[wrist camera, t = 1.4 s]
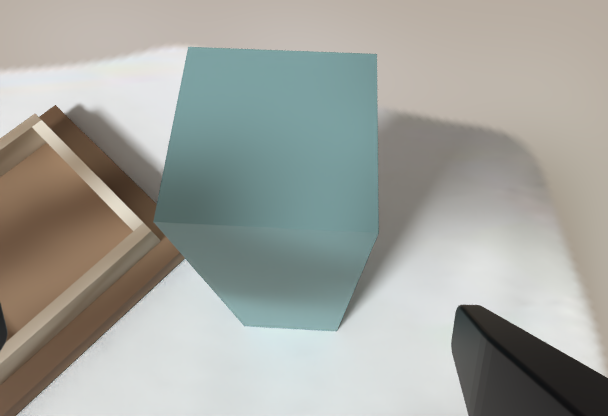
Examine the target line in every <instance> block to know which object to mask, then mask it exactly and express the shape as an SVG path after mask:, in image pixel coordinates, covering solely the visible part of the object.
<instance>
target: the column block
mask: <svg viewBox="0 0 608 416" xmlns="http://www.w3.org/2000/svg"><path fill="white" fill-rule="evenodd" d="M153 222H154V223H155V224H156V226H157V227H158V228H159V229H160V230H161V231H162V232H163V234H164V235H165V236H166V237H167V238H168V239H169V240H170V242H171V243H172V244H173V245H174V246H175V247H176V248H177V250H178V251H179V252H180V253H181V254H182V255H183V256H184V258H185V259H186V260H187V261H188V262H189V263H190V264H191V266H192V267H193V268H194V269H195V270H196V271H197V272H198V274H199V275H200V276H201V277H202V278H203V279H204V280H205V282H206V283H207V284H208V285H209V286H210V287H211V288H212V290H213V291H214V292H215V293H216V294H217V295H218V296H219V298H220V299H221V300H222V301H223V302H224V303H225V304H226V306H227V307H228V308H229V309H230V310H231V311H232V312H233V314H234V315H235V316H236V317H237V318H238V319H239V320H240V322H241V323H242V324H243V325H244V326H252V327H270V328H288V329H305V330H323V331H337V330H338V327H339V325H340V323H341V320H342V318H343V316H344V313H345V311H346V308H347V306H348V304H349V301H350V299H351V297H352V294H353V292H354V290H355V287H356V285H357V283H358V280H359V278H360V276H361V273H362V271H363V269H364V266H365V264H366V262H367V259H368V257H369V255H370V252H371V250H372V247H373V245H374V243H375V240H376V238H377V236H378V233H379V217H378V118H377V54H362V53H361V54H360V53H336V52H309V51H283V50H255V49H230V48H203V47H188V51H187V56H186V61H185V66H184V71H183V76H182V81H181V86H180V91H179V96H178V101H177V106H176V111H175V116H174V121H173V126H172V131H171V136H170V141H169V146H168V151H167V156H166V161H165V166H164V171H163V176H162V181H161V186H160V191H159V196H158V201H157V206H156V211H155V216H154V221H153Z"/></svg>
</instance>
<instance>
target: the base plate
mask: <svg viewBox="0 0 608 416" xmlns="http://www.w3.org/2000/svg"><path fill="white" fill-rule="evenodd" d="M156 206H157V204H156V203H155V202H154V201H153V200H152V199H151V198H150V197H149V196H148V195H147V194H146V193H145V192H144V191H143V190H142V189H141V188H140V187H139V186H138V185H137V184H136V183H135V182H134V181H133V180H132V179H131V178H130V177H128V176H127V175H126V174H125V173H124V172H123V171H122V170H121V169H120V168H119V167H118V166H117V165H116V164H115V163H114V162H113V161H112V160H111V159H110V158H109V157H108V156H107V155H106V154H105V153H104V152H103V151H102V150H101V149H100V148H99V147H98V146H97V145H96V144H95V143H94V142H93V141H92V140H91V139H90V138H89V137H88V136H87V135H86V134H84V133H83V132H82V131H81V130H80V129H79V128H78V127H77V126H76V125H75V124H74V123H73V122H72V121H71V120H70V119H69V118H68V117H67V116H66V115H65V114H64V113H63V112H62V111H61V110H60V109H59V108H58V107H57V106H56V105H55V106H53V107H52V108H51V109H49V110H48V111H47V112H45V113H44V114H42V115H41V116H40V117H38V116H37V115H36V114H34V115H32V116H31V117H30V118H28V119H27V120H25V121H24V122H23V123H21V124H20V125H18V126H17V127H16V128H14V129H13V130H12V131H10V132H9V133H7V134H6V135H5V136H3V137H2V138H0V303H1V306H2V311H3V315H4V319H5V323H6V327H7V340H6V342H5V345H4V346H3V348H2V350H1V351H0V416H16V415H17V414H18V413H19V412H20V411H21V410H22V409H23V408H24V407H25V406H26V405H27V404H29V403H30V402H31V401H32V400H33V399H34V398H35V397H36V396H37V395H38V394H39V393H40V392H41V391H43V390H44V389H45V388H46V387H47V386H48V385H49V384H50V383H51V382H52V381H53V380H54V379H55V378H57V377H58V376H59V375H60V374H61V373H62V372H63V371H64V370H65V369H66V368H67V367H68V366H69V365H71V364H72V363H73V362H74V361H75V360H76V359H77V358H78V357H79V356H80V355H81V354H82V353H83V352H85V351H86V350H87V349H88V348H89V347H90V346H91V345H92V344H93V343H94V342H95V341H96V340H97V339H99V338H100V337H101V336H102V335H103V334H104V333H105V332H106V331H107V330H108V329H109V328H110V327H111V326H113V325H114V324H115V323H116V322H117V321H118V320H119V319H120V318H121V317H122V316H123V315H124V314H125V313H127V312H128V311H129V310H130V309H131V308H132V307H133V306H134V305H135V304H136V303H137V302H138V301H139V300H141V299H142V298H143V297H144V296H145V295H146V294H147V293H148V292H149V291H150V290H151V289H152V288H153V287H154V286H156V285H157V284H158V283H159V282H160V281H161V280H162V279H163V278H164V277H165V276H166V275H167V274H168V273H170V272H171V271H172V270H173V269H174V268H175V267H176V266H177V265H178V264H179V263H180V262H181V261H182V260H184V259H185V258H184V256H183V255H182V254H181V253H180V252H179V251H178V250H177V248H176V247H175V246H174V245H173V244H172V243H171V242H170V240H169V239H168V238H167V237H166V236H165V235H164V234H163V232H162V231H161V230H160V229H159V228H158V227H157V226H156V224H155V223H154V222H153V221H154V216H155V211H156Z"/></svg>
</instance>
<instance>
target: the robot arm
mask: <svg viewBox="0 0 608 416" xmlns="http://www.w3.org/2000/svg"><path fill="white" fill-rule="evenodd" d="M6 340H7V327H6V323H5V319H4V315H3V311H2V306H1V303H0V351H1V350H2V348H3V346H4V345H5V342H6ZM451 347H452V354H453V358H454V362H455V366H456V369H457V373H458V377H459V381H460V385H461V388H462V392H463V396H464V400H465V404H466V407H467V411H468V415H469V416H608V378H607V377H605V376H603V375H601V374H600V373H598V372H596V371H594V370H593V369H591V368H589V367H587V366H586V365H584V364H582V363H580V362H579V361H577V360H575V359H573V358H572V357H570V356H568V355H566V354H565V353H563V352H561V351H559V350H558V349H556V348H554V347H552V346H551V345H549V344H547V343H545V342H544V341H542V340H540V339H538V338H537V337H535V336H533V335H531V334H530V333H528V332H526V331H524V330H523V329H521V328H519V327H517V326H516V325H514V324H512V323H510V322H509V321H507V320H505V319H503V318H502V317H500V316H498V315H496V314H494V313H493V312H491V311H489V310H487V309H486V308H484V307H482V306H480V305H460V306H458V307H457V310H456V313H455V320H454V327H453V334H452V342H451Z"/></svg>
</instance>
